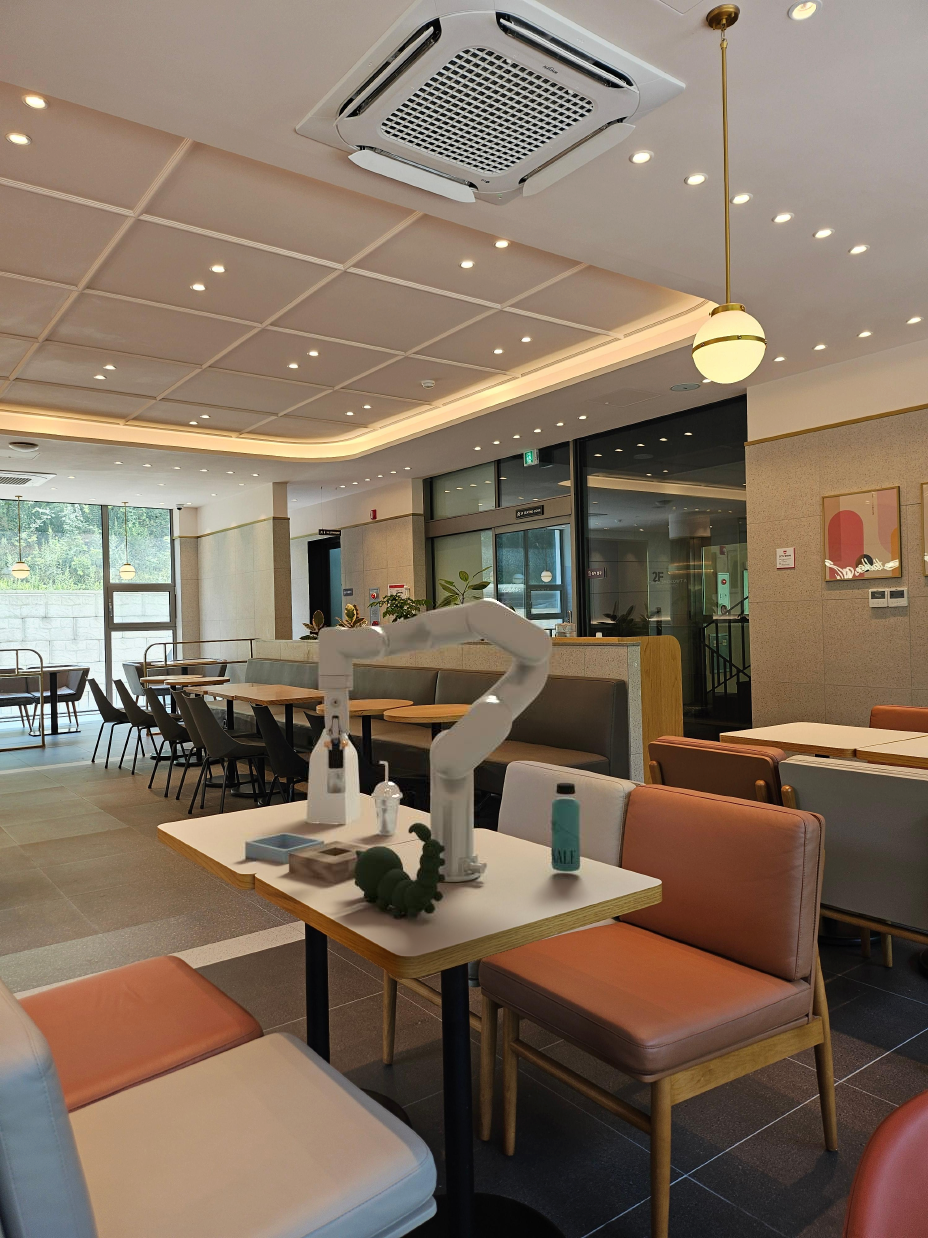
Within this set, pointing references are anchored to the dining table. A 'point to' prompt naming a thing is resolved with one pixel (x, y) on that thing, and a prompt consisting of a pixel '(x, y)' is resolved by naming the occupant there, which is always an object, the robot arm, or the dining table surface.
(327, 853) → the square wooden block
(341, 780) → the copper capped shaker
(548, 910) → the dining table surface
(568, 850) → the beverage bottle
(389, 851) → the toy figurine
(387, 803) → the cup with straw
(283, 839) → the tray
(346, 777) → the milk
